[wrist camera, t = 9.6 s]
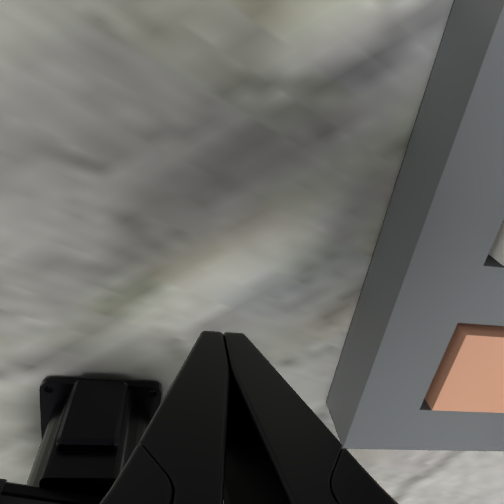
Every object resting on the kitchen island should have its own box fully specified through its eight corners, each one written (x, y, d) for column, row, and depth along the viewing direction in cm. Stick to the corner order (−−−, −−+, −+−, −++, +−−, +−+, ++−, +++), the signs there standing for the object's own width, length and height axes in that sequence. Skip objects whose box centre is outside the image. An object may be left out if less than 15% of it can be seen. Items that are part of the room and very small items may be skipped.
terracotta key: (482, 375, 28) (513, 413, 25) (407, 372, 27) (431, 410, 24) (516, 308, 26) (554, 341, 23) (436, 301, 25) (466, 335, 22)
